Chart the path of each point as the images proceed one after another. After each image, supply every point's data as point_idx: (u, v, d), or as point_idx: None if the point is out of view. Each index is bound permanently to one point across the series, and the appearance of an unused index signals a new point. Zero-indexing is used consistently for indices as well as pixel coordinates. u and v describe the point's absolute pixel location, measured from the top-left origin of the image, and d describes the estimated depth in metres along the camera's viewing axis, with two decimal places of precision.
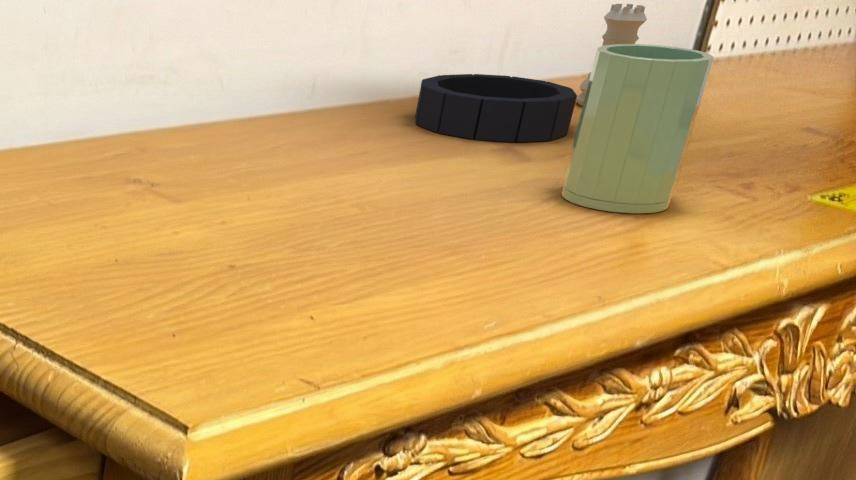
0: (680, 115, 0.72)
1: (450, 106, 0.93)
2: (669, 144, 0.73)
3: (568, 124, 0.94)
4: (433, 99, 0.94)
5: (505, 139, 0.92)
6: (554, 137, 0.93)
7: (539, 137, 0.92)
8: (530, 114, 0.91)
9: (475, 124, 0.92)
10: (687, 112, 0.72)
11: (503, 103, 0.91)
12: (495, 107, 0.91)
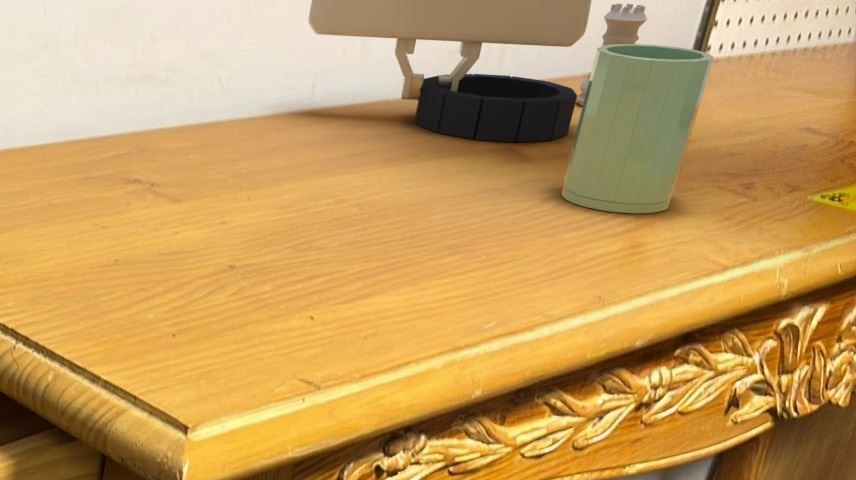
0: (680, 115, 0.72)
1: (450, 105, 0.93)
2: (669, 144, 0.73)
3: (568, 124, 0.94)
4: (433, 98, 0.94)
5: (506, 139, 0.92)
6: (554, 137, 0.93)
7: (539, 137, 0.92)
8: (530, 114, 0.91)
9: (475, 124, 0.92)
10: (687, 112, 0.72)
11: (503, 103, 0.91)
12: (495, 107, 0.91)
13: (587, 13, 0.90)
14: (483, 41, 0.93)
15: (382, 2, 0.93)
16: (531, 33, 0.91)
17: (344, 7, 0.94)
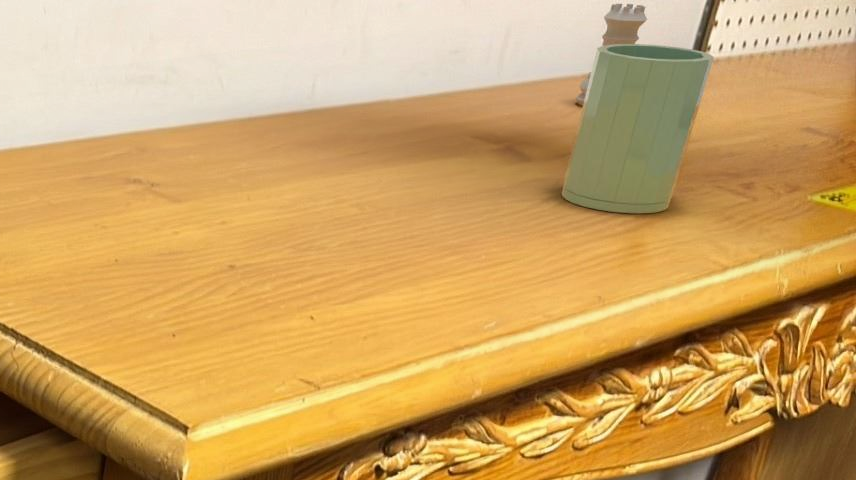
0: (680, 115, 0.72)
1: None
2: (669, 144, 0.73)
3: None
4: None
5: None
6: None
7: None
8: None
9: None
10: (687, 112, 0.72)
11: None
12: None
13: None
14: None
15: None
16: None
17: None
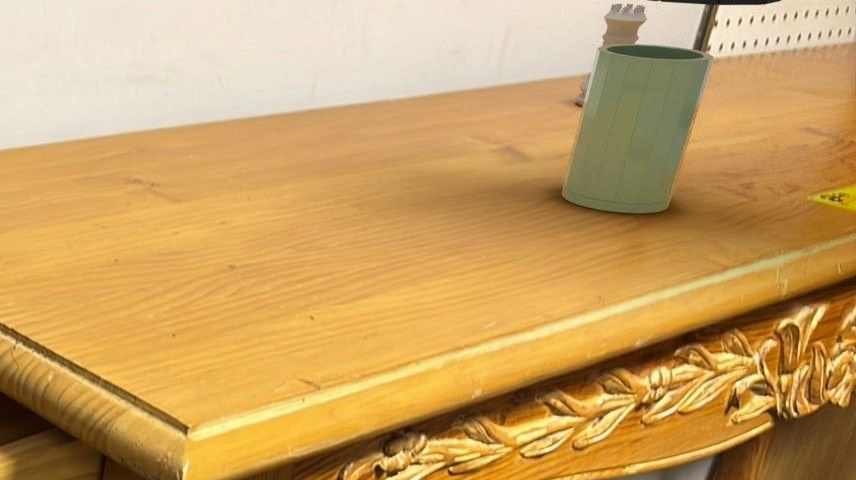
0: (680, 115, 0.72)
1: None
2: (669, 144, 0.73)
3: None
4: None
5: (705, 1, 0.67)
6: (769, 0, 0.68)
7: None
8: None
9: None
10: (687, 112, 0.72)
11: None
12: None
13: None
14: None
15: None
16: None
17: None
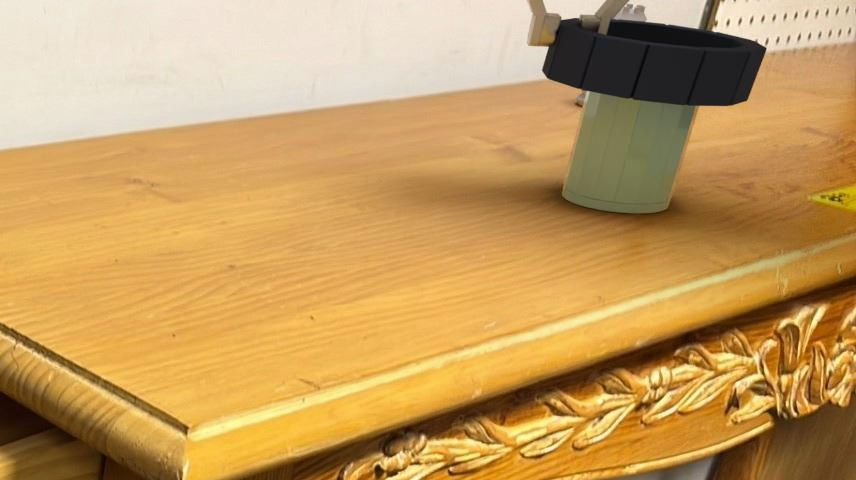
0: (680, 115, 0.72)
1: (601, 53, 0.70)
2: (669, 144, 0.73)
3: (752, 86, 0.71)
4: (576, 44, 0.72)
5: (674, 101, 0.69)
6: (735, 102, 0.70)
7: (717, 100, 0.70)
8: (710, 68, 0.69)
9: (635, 78, 0.70)
10: (687, 112, 0.72)
11: (676, 51, 0.68)
12: (665, 57, 0.69)
13: None
14: None
15: None
16: None
17: None
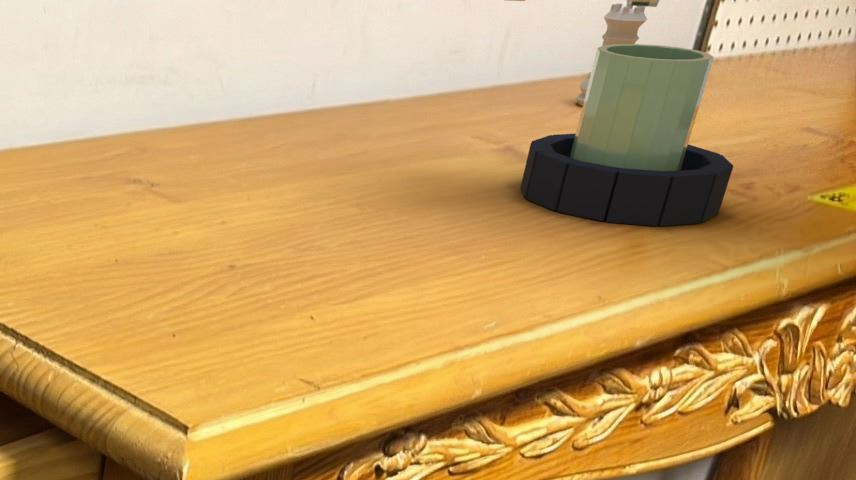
0: (680, 115, 0.72)
1: (574, 179, 0.74)
2: (669, 144, 0.73)
3: (721, 201, 0.75)
4: (550, 168, 0.75)
5: (646, 222, 0.73)
6: (705, 218, 0.74)
7: (688, 219, 0.73)
8: (679, 191, 0.72)
9: (607, 203, 0.73)
10: (687, 112, 0.72)
11: (645, 178, 0.72)
12: (634, 183, 0.72)
13: None
14: None
15: None
16: None
17: None
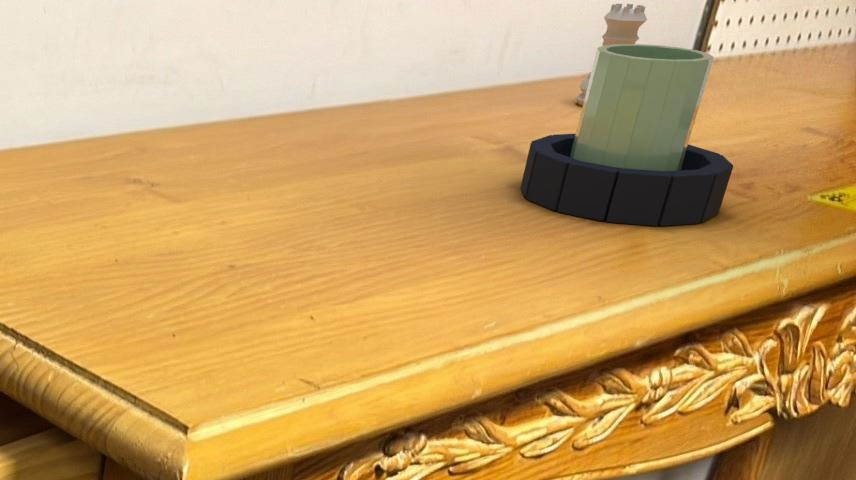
0: (680, 115, 0.72)
1: (574, 179, 0.74)
2: (669, 144, 0.73)
3: (721, 201, 0.75)
4: (550, 168, 0.75)
5: (646, 222, 0.73)
6: (705, 218, 0.74)
7: (688, 219, 0.73)
8: (679, 191, 0.72)
9: (607, 203, 0.73)
10: (687, 112, 0.72)
11: (645, 178, 0.72)
12: (634, 183, 0.72)
13: None
14: None
15: None
16: None
17: None
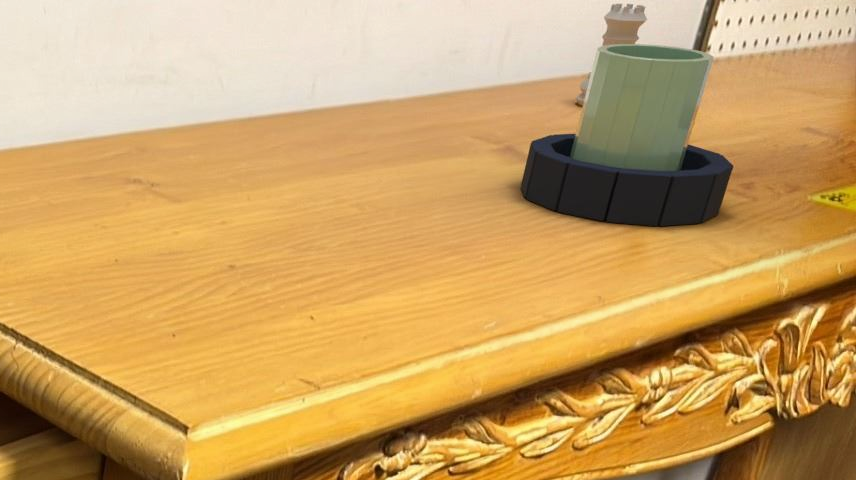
0: (680, 115, 0.72)
1: (574, 179, 0.74)
2: (669, 144, 0.73)
3: (721, 201, 0.75)
4: (550, 168, 0.75)
5: (646, 222, 0.73)
6: (705, 218, 0.74)
7: (688, 219, 0.73)
8: (679, 191, 0.72)
9: (607, 203, 0.73)
10: (687, 112, 0.72)
11: (645, 178, 0.72)
12: (634, 183, 0.72)
13: None
14: None
15: None
16: None
17: None
